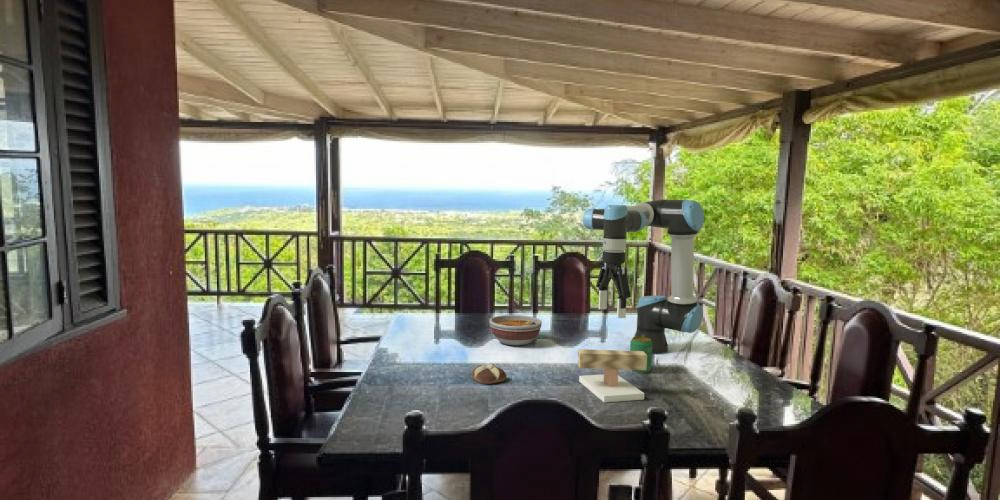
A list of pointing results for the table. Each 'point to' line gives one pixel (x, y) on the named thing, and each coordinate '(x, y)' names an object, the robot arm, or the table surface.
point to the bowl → (515, 329)
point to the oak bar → (612, 359)
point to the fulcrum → (611, 387)
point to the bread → (488, 374)
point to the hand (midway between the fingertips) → (611, 313)
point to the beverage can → (642, 345)
